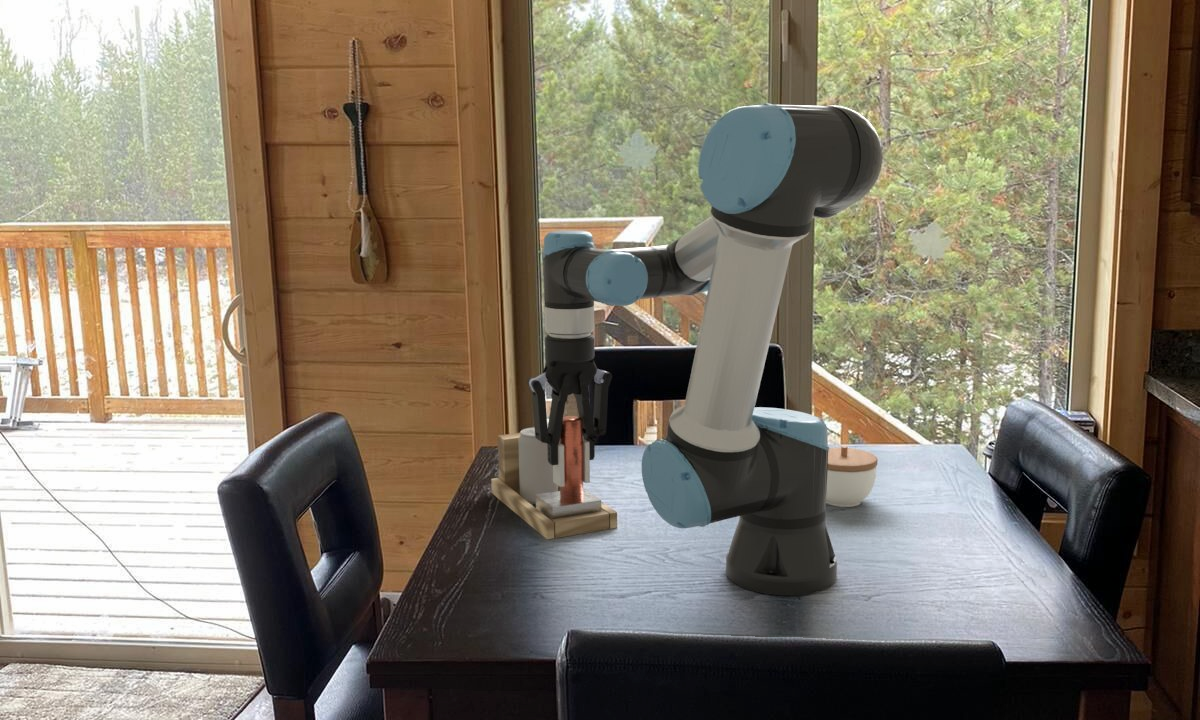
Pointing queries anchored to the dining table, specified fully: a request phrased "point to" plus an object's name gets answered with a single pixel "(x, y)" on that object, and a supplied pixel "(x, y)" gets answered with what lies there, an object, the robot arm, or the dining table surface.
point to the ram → (570, 478)
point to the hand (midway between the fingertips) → (571, 481)
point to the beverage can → (534, 467)
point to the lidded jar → (849, 476)
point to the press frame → (510, 496)
